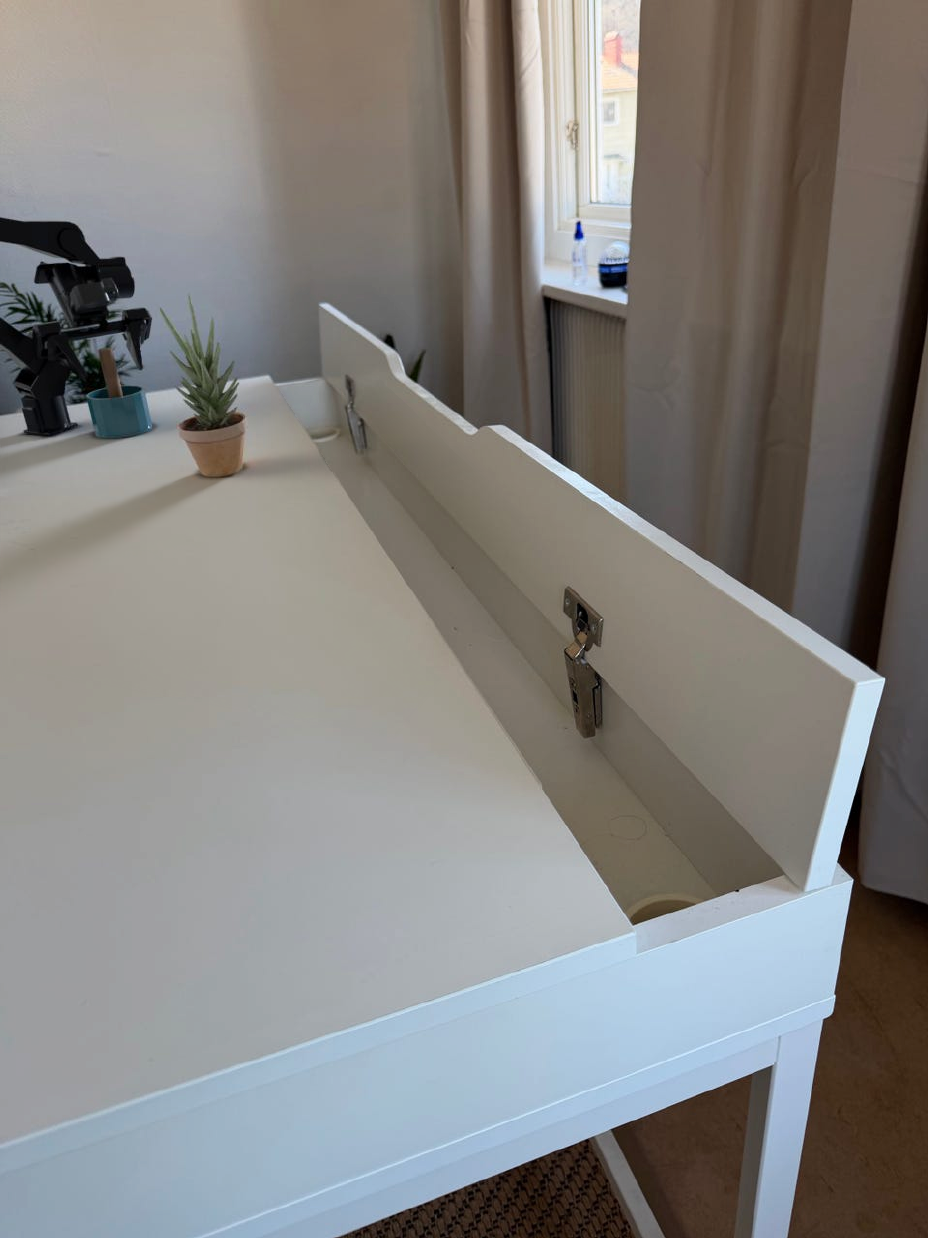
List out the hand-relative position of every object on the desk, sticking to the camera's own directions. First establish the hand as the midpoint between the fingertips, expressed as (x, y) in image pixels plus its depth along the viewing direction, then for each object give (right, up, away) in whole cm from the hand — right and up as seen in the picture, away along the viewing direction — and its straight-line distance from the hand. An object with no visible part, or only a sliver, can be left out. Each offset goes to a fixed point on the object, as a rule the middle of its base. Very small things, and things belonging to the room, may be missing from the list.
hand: (114, 373), depth 153 cm
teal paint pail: (0, -8, +5) cm, 10 cm away
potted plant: (+22, -19, -18) cm, 34 cm away
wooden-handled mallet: (0, -8, +5) cm, 9 cm away
